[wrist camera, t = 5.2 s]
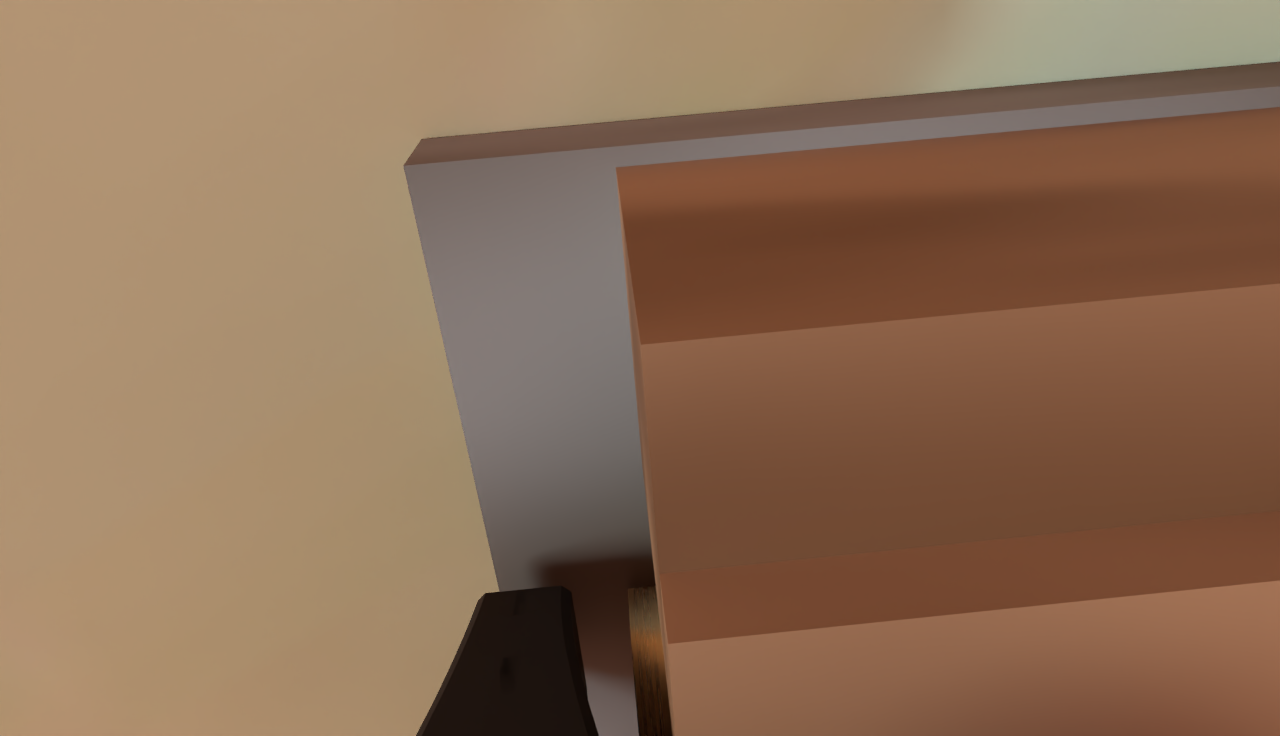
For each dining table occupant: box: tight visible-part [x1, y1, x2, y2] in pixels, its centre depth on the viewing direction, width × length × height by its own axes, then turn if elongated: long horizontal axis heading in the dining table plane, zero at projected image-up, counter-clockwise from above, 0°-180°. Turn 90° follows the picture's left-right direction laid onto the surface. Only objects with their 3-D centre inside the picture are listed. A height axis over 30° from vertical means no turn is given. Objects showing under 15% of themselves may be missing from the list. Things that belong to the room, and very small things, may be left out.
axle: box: [628, 586, 673, 736], centre depth 10 cm, size 3×14×3 cm, turn 94°
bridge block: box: [404, 62, 1280, 736], centre depth 9 cm, size 12×15×5 cm
